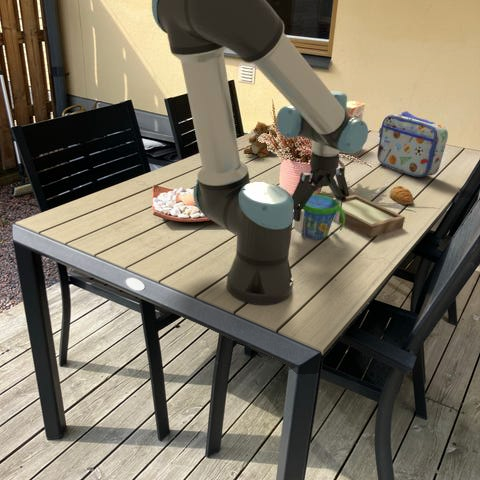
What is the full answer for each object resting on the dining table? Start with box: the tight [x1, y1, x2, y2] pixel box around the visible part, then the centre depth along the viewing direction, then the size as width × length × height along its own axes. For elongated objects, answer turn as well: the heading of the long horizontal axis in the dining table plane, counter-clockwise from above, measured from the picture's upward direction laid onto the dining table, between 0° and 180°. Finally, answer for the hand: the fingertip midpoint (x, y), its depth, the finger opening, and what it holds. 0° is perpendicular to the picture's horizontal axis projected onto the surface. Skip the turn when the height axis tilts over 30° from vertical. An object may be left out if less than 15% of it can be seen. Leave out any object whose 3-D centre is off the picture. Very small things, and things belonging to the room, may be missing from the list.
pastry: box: [389, 185, 414, 205], centre depth 168 cm, size 9×7×4 cm
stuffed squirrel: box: [243, 121, 277, 158], centre depth 206 cm, size 10×14×13 cm
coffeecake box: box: [340, 100, 366, 154], centre depth 218 cm, size 15×7×20 cm, turn 147°
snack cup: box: [299, 194, 345, 240], centre depth 138 cm, size 16×10×10 cm
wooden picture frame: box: [339, 194, 406, 238], centre depth 151 cm, size 14×20×4 cm
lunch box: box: [376, 111, 449, 178], centre depth 193 cm, size 28×10×22 cm, turn 34°
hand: (316, 225), depth 140 cm, fingers open, 13 cm apart
